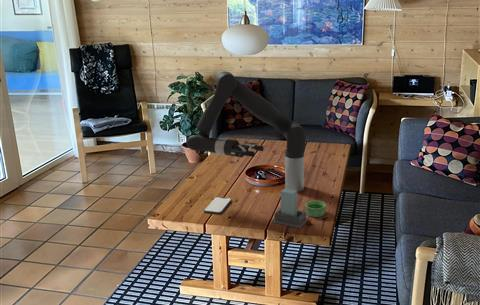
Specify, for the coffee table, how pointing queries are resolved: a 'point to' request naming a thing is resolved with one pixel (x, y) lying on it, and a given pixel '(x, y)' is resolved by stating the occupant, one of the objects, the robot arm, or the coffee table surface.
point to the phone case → (218, 205)
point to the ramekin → (315, 208)
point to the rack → (290, 219)
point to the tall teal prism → (289, 202)
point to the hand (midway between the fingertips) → (258, 151)
